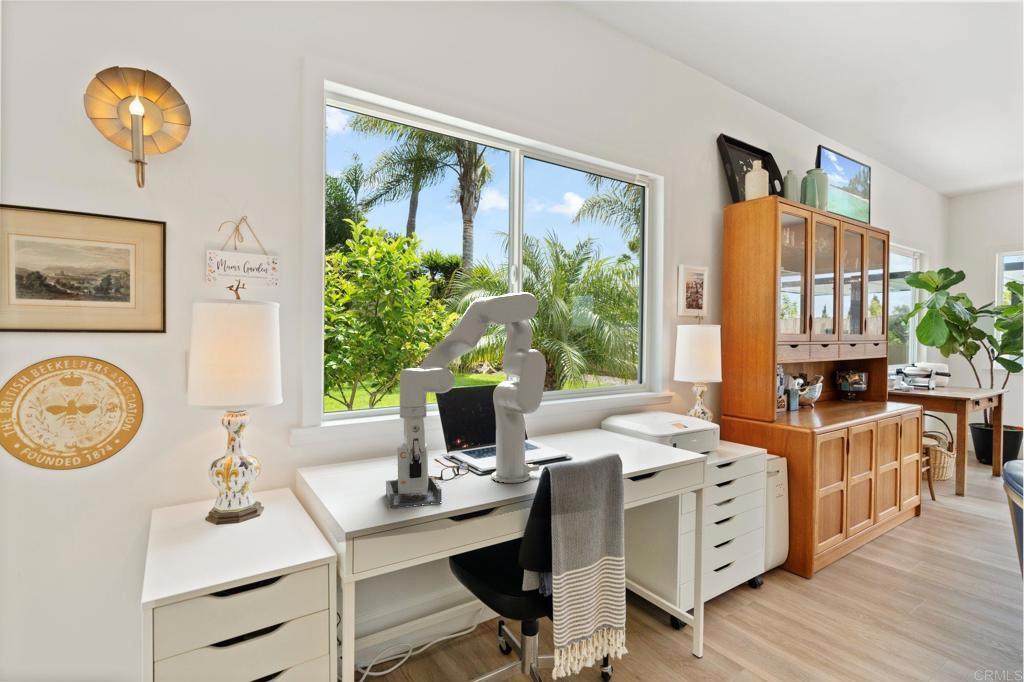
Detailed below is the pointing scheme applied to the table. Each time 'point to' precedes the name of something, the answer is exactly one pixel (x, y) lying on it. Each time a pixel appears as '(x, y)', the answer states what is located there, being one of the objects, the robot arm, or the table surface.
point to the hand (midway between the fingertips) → (413, 473)
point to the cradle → (413, 495)
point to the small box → (404, 480)
